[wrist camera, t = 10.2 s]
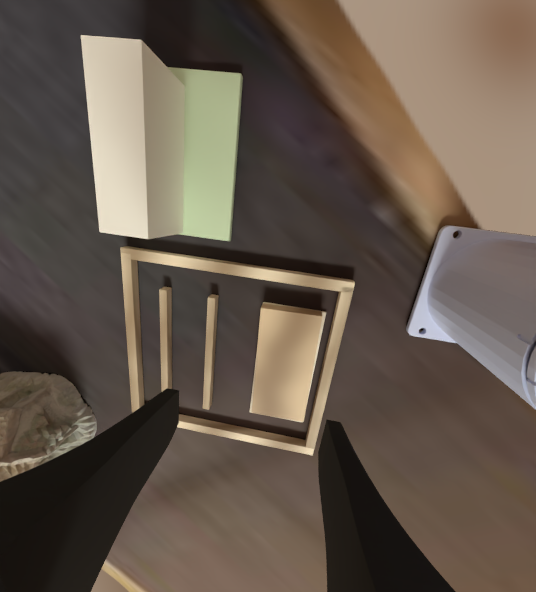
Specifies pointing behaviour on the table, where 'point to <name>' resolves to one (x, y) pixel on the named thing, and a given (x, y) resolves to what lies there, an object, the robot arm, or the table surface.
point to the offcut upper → (285, 360)
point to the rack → (226, 267)
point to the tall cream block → (135, 137)
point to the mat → (210, 150)
